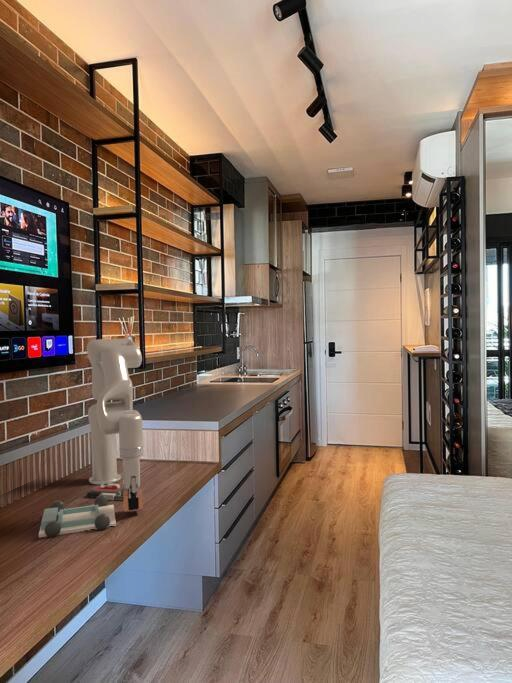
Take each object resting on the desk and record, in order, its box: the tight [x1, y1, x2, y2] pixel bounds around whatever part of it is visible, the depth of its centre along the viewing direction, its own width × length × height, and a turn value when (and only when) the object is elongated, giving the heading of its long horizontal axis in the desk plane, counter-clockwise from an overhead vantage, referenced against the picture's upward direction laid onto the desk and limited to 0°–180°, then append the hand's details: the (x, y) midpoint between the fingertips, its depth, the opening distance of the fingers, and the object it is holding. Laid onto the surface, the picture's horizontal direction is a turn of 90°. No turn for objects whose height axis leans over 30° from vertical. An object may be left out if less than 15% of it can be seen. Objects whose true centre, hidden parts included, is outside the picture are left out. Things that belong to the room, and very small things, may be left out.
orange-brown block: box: [122, 488, 144, 512], centre depth 165 cm, size 5×6×5 cm
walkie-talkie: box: [86, 483, 127, 501], centre depth 183 cm, size 9×4×20 cm
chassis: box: [38, 495, 117, 539], centre depth 159 cm, size 21×22×4 cm
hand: (132, 505), depth 165 cm, fingers closed on orange-brown block, 5 cm apart
